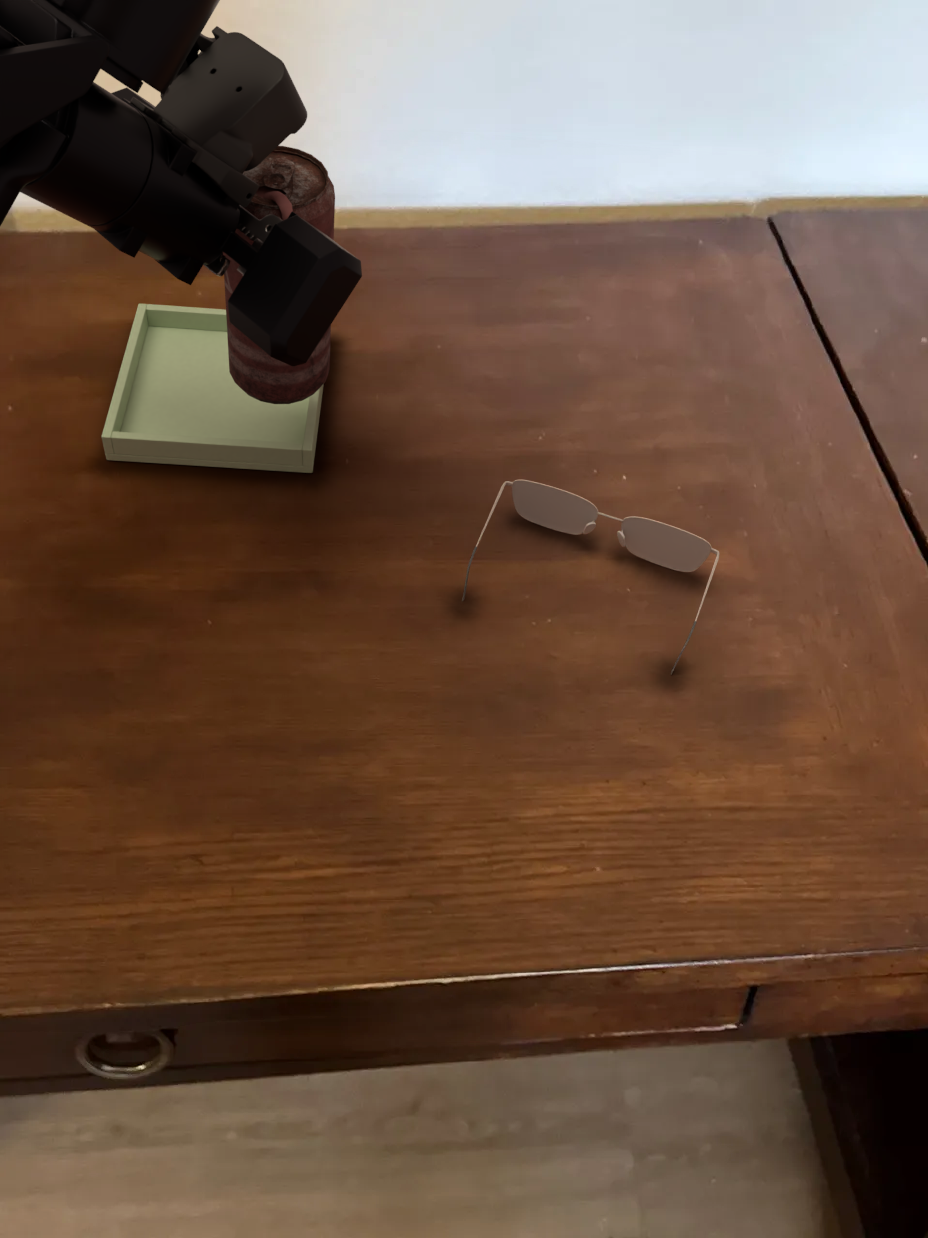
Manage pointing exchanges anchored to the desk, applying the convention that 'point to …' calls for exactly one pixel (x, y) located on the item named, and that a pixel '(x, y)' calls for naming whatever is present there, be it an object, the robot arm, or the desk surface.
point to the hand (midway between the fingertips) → (298, 274)
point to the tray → (199, 401)
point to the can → (283, 189)
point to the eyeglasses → (635, 534)
